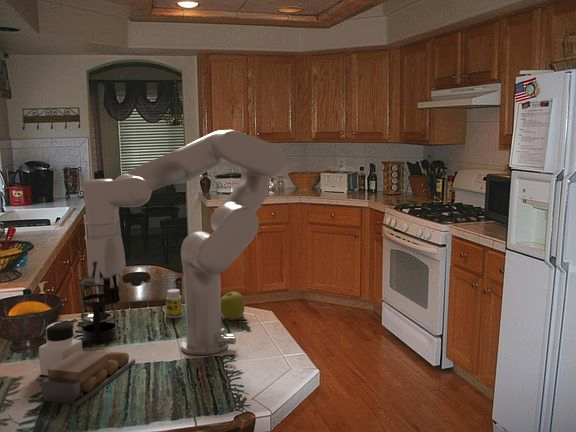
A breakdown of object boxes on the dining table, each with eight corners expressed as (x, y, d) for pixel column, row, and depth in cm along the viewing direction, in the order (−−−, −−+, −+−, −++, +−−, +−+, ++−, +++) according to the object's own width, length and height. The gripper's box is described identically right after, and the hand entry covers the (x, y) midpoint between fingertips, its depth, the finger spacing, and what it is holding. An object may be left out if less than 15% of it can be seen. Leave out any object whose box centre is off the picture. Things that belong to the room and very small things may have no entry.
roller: (55, 390, 125) (57, 374, 126) (65, 388, 129) (66, 372, 129) (87, 394, 124) (89, 377, 124) (96, 391, 127) (97, 375, 127)
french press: (115, 343, 155) (110, 262, 152) (79, 346, 153) (74, 264, 150) (119, 329, 166) (115, 254, 163) (86, 331, 165) (82, 255, 162)
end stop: (80, 400, 121) (79, 380, 121) (75, 404, 120) (74, 384, 119) (49, 396, 123) (47, 377, 123) (43, 400, 121) (41, 381, 121)
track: (135, 362, 142) (134, 349, 141) (77, 406, 119) (76, 390, 118) (100, 359, 144) (99, 346, 144) (37, 401, 121) (36, 385, 121)
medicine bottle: (84, 367, 139) (81, 320, 138) (64, 378, 133) (60, 330, 131) (60, 363, 142) (57, 318, 140) (40, 375, 135) (36, 327, 133)
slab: (108, 363, 132) (107, 353, 131) (80, 383, 121) (79, 372, 121) (78, 360, 134) (78, 350, 133) (48, 379, 123) (47, 369, 123)
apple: (250, 311, 180) (246, 284, 176) (240, 325, 173) (235, 298, 169) (228, 308, 182) (223, 282, 178) (217, 323, 176) (212, 296, 172)
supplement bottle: (164, 317, 177) (163, 292, 176) (170, 313, 182) (169, 288, 181) (178, 318, 176) (177, 292, 175) (184, 313, 181) (183, 288, 180)
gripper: (107, 224, 144) (115, 293, 147) (72, 236, 129) (81, 312, 132) (133, 224, 142) (140, 293, 145) (100, 236, 127) (109, 313, 130)
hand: (112, 302), depth 138 cm, fingers closed
